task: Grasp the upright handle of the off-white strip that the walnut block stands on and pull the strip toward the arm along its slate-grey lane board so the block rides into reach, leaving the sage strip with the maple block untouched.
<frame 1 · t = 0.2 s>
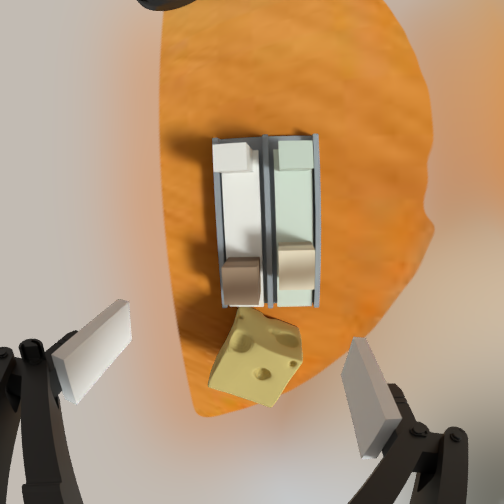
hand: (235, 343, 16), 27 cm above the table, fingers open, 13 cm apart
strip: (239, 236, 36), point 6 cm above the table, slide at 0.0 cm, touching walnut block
cheese: (259, 339, 46), on the table
walnut block: (244, 274, 41), point 2 cm above the table, touching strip
lane board: (269, 221, 41), on the table
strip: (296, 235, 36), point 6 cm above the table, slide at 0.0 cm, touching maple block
maple block: (294, 259, 40), point 2 cm above the table, touching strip
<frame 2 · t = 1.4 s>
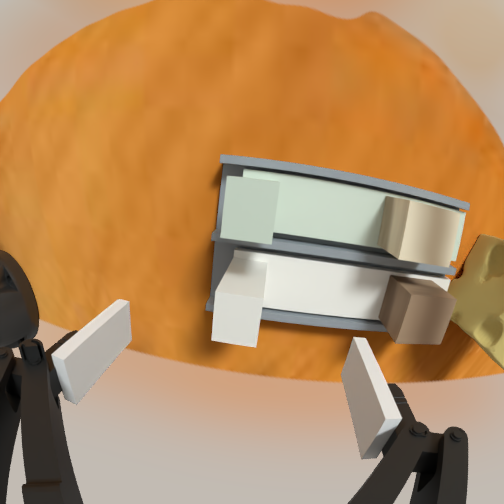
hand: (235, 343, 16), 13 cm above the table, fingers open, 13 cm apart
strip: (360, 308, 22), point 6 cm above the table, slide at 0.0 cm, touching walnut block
cheese: (478, 286, 27), on the table
walnut block: (405, 298, 25), point 2 cm above the table, touching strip
lane board: (343, 249, 27), on the table
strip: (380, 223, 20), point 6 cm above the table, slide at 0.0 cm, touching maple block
maple block: (405, 224, 24), point 2 cm above the table, touching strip
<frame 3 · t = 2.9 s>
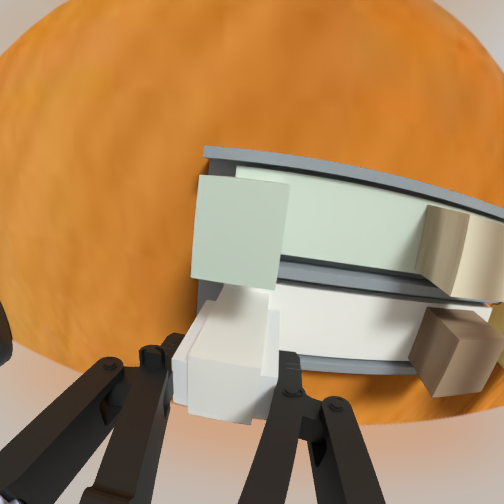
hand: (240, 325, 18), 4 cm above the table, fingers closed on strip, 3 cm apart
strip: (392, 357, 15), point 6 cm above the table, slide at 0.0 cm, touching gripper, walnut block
walnut block: (442, 334, 18), point 2 cm above the table, touching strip
lane board: (369, 273, 20), on the table
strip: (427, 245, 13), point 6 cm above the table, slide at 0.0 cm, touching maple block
maple block: (449, 243, 17), point 2 cm above the table, touching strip
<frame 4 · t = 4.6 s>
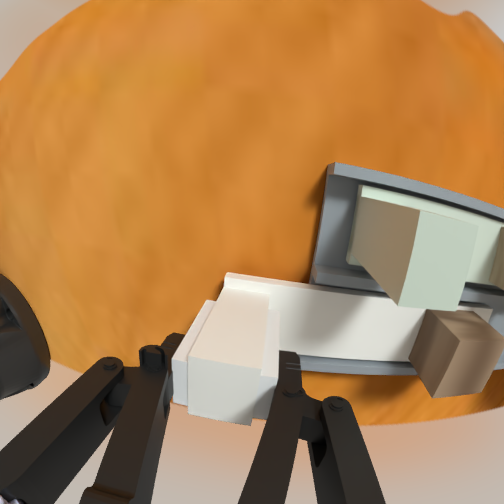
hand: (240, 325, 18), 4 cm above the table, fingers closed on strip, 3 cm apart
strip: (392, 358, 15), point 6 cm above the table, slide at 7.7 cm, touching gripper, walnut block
walnut block: (442, 334, 18), point 2 cm above the table, touching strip
lane board: (450, 284, 19), on the table
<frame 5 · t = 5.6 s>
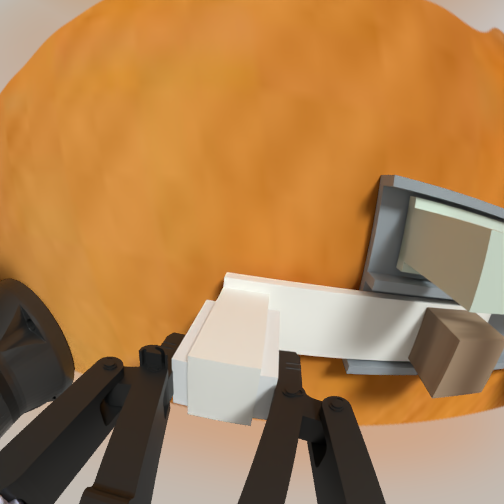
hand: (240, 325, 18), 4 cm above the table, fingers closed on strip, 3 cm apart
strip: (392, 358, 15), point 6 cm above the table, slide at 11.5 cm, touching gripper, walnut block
walnut block: (442, 334, 18), point 2 cm above the table, touching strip
lane board: (480, 288, 19), on the table
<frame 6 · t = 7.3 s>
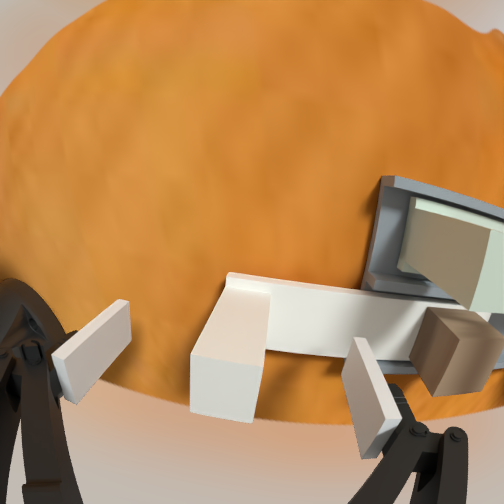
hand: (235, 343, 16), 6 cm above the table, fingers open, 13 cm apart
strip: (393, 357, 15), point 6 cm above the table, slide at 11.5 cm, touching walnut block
walnut block: (442, 334, 18), point 2 cm above the table, touching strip
lane board: (480, 288, 19), on the table
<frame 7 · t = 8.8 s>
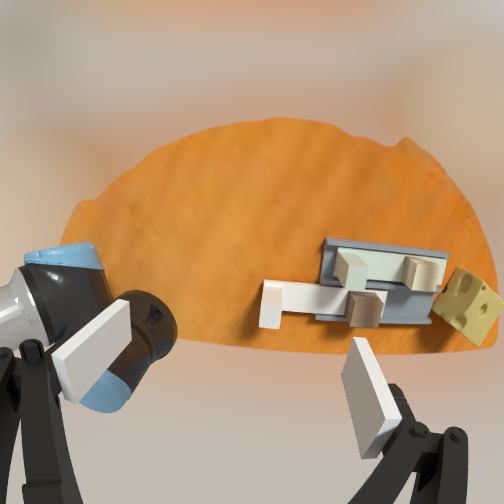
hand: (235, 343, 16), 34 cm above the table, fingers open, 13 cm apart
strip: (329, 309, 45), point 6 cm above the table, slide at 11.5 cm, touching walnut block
cheese: (457, 296, 48), on the table
walnut block: (359, 303, 48), point 2 cm above the table, touching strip
lane board: (382, 282, 49), on the table
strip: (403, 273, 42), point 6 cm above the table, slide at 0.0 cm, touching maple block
maple block: (414, 269, 45), point 2 cm above the table, touching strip
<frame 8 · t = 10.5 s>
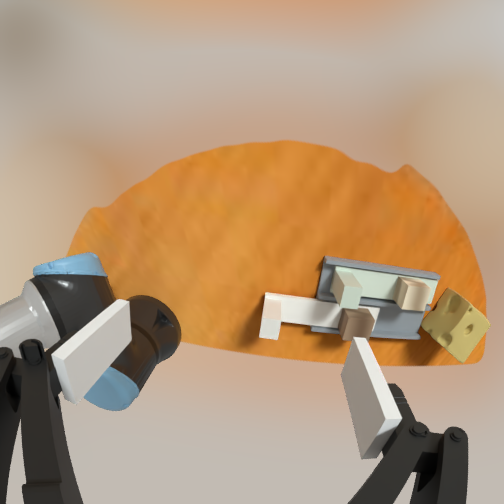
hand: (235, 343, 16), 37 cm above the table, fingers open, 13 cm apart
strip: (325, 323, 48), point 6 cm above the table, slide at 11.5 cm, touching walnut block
cheese: (446, 314, 52), on the table
walnut block: (352, 317, 51), point 2 cm above the table, touching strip
lane board: (375, 299, 52), on the table
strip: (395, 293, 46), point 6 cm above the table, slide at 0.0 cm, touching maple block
maple block: (406, 288, 49), point 2 cm above the table, touching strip
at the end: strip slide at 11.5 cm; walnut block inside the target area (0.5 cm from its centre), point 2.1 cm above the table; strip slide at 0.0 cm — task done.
